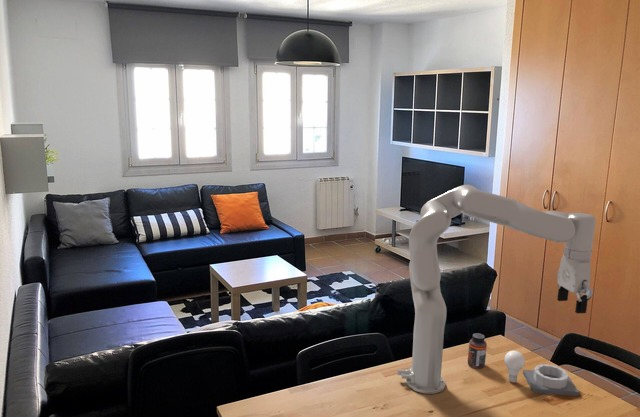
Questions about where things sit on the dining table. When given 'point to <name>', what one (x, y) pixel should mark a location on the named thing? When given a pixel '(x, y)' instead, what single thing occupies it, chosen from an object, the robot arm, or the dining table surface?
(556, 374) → the socket holder
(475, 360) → the supplement bottle
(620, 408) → the dining table surface
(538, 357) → the dining table surface
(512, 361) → the lightbulb
